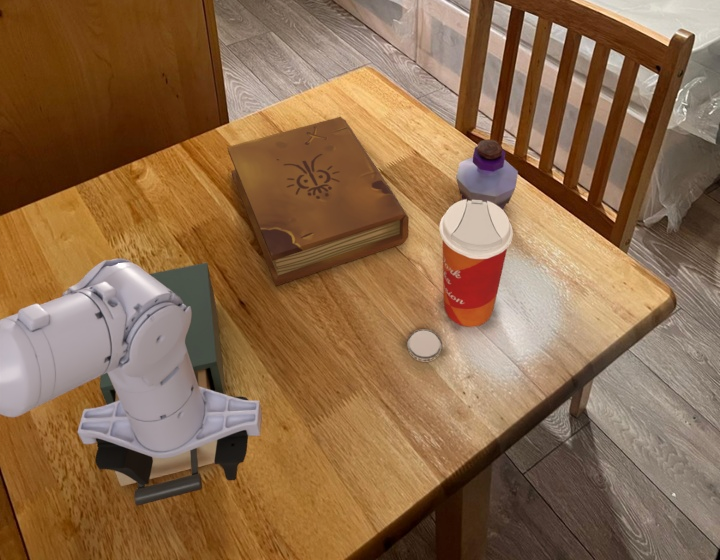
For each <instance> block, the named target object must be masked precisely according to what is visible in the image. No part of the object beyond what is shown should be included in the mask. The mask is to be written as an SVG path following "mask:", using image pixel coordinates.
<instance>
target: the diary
mask: <svg viewBox="0 0 720 560" xmlns="http://www.w3.org/2000/svg"><path fill="white" fill-rule="evenodd" d="M227 152H228V155H229V157H230V160H231V162H232V165H233V167H234V169H232V170H230V171H231V176H232V179H233V181H234V184H235V186H236V189H237V191H238V193H239V196H240V199H241V202H242V204H243V206H244V209H245V212H246V214H247V216H248V219H249V221H250V225H251V227H252V230H253V232H254V235H255V237H256V239H257V242H258V244H259V247H260V249H261V252H262V255H263V257H264V260H265V262H266V265H267V267H268V269H269V272H270V275H271V277H272V280H273V282H274V285H275V286H280V285H282V284H286V283H288V282H291V281H294V280H297V279H301V278H303V277H306V276H309V275H313V274H315V273H319V272H321V271H325V270H327V269H330V268H333V267H336V266H339V265H342V264H345V263H348V262H352V261H354V260H357V259H360V258H364V257H367V256H371V255H373V254H376V253H379V252H381V251H385V250H389V249H390V248H394V247H397V246H400V245H404V243H405V242H406V241H407V240H408V238H409V219H410V218H409V216H408V214H407V212H406V210H405V209H404V207H403V206H402V205H401V203H400V202H399V200H398V198H397V197H396V195H395V193H394V192H393V191H392V189H391V188H390V186H389V185H388V183H387V181H386V179H384V177H383V176H382V174H381V172H380V171H379V170H378V168H377V166H376V165H375V163H374V162H373V160H372V159H371V157H370V155H369V154H368V152H367V151H366V149H365V148H364V146H363V145H362V144H361V141H360V140H359V138H358V137H357V135H356V134H355V133H354V131H353V129H352V128H351V126H350V125H349V123H348V122H347V121H346V119H344V118H343V117H342V116H337V117H335V118H331V119H327V120H323V121H319V122H316V123H312V124H308V125H304V126H301V127H297V128H296V127H295V128H293V129H289V130H285V131H281V132H278V133H274V134H271V135H267V136H263V137H259V138H255V139H251V140H248V141H244V142H240V143H236V144H234V145H229V146H227Z"/></svg>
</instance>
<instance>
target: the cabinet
mask: <svg viewBox="0 0 720 560" xmlns="http://www.w3.org/2000/svg"><path fill="white" fill-rule="evenodd" d="M209 269H210V268H209V265H208V262H202V263H198V264H193V265H192V264H191V265H187V266H183V267H177V268H172V269H167V270H162V271H157V272H152V273H149V274H150V275H151V276H152V277H154V278H155V279H156V280H158V281H159V282H160V283H162V284H163V285H164V286H165V287H167V288H168V289H169V290H171V291H172V292H173V293H175V294H176V295H177V296H179V297H180V298H181V299H182V301H183V304H184V305H186V309H187V307H189V306H190V307H191V311H192V317H191V323H190V326H189V329H188V332H187V334H186V338H185V345H186V348H187V352H188V355H189V358H190V361H191V364H192V367H193V370H194V371H197V370H201V369H206V368H210V370H211V379H212V391H215V392H218V393H221V394H225V395H227V393H226V384H225V383H226V382H225V374H224V366H223V365H224V364H223V355H222V346H221V345H222V344H221V335H220V327H219V316H218V308H217V303H216V298H215V294H214V288H213V284H212V279H211V274H210V270H209ZM99 378H100V379H99V389H100V391H101V394H102V397H103V399H104V401H105V405H108V404H111V403H113V402H115V398H116V391H115V389H114V386H113V384H112V382H111V380H110V377H109V375H108V373H105V374H103V375H101V376H99Z"/></svg>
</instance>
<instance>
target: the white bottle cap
mask: <svg viewBox="0 0 720 560" xmlns="http://www.w3.org/2000/svg"><path fill="white" fill-rule="evenodd" d="M406 345H407V346H406V349H407V352H408V353H409V355H410V356H411V357H412V358H413V359H414V360H416V361H418V362H424V363H427V362H428V363H429V362H432V361H434V360H436V359H438V357H439V356H440V355H441V353H442V340H441V338H440V336H439V335H438V334H437V333H436V332H434V330H431V329H427V328H421V329H416V330H414V331H413V332H411V333H410V334H409V336H408V338H407V342H406Z"/></svg>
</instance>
